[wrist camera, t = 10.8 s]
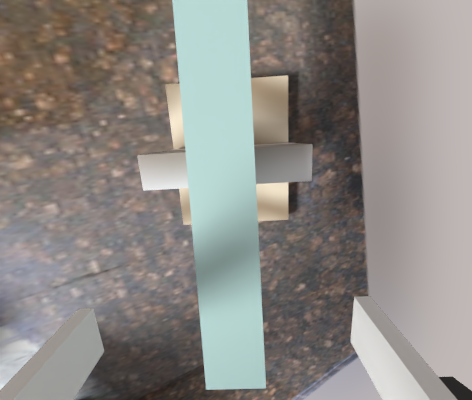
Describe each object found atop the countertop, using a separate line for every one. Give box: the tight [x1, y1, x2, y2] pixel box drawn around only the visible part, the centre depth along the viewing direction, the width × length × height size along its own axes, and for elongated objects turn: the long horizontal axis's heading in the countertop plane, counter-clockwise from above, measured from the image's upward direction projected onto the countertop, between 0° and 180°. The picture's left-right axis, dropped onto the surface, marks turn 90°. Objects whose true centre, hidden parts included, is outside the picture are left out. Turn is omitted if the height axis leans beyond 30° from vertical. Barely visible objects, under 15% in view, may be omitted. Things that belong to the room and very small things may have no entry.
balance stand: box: [137, 75, 313, 225], centre depth 21 cm, size 16×13×12 cm
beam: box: [172, 0, 266, 390], centre depth 13 cm, size 26×4×4 cm, turn 4°
